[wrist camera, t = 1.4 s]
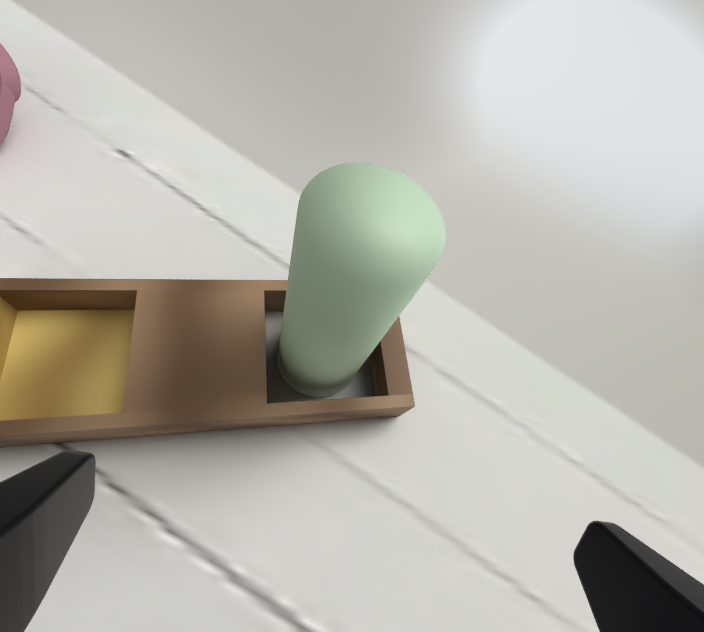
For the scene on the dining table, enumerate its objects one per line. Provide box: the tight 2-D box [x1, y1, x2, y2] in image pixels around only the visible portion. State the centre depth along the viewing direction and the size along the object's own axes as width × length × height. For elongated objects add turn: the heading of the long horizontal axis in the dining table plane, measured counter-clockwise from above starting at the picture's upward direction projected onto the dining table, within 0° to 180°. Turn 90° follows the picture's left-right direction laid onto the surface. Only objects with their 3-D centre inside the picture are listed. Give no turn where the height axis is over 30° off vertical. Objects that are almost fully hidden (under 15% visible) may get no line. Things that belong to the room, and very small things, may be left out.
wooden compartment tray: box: [0, 278, 415, 447], centre depth 20 cm, size 20×7×2 cm, turn 96°
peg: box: [278, 163, 446, 397], centre depth 17 cm, size 4×4×12 cm
